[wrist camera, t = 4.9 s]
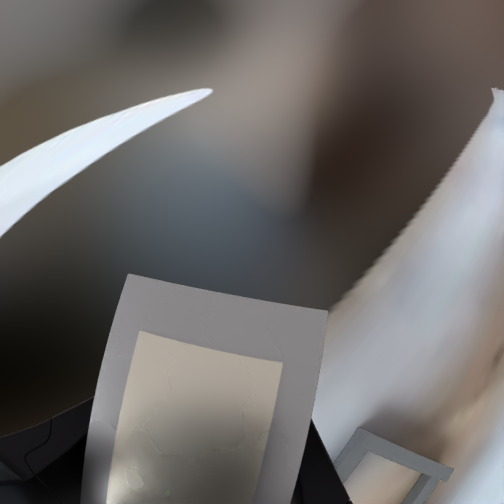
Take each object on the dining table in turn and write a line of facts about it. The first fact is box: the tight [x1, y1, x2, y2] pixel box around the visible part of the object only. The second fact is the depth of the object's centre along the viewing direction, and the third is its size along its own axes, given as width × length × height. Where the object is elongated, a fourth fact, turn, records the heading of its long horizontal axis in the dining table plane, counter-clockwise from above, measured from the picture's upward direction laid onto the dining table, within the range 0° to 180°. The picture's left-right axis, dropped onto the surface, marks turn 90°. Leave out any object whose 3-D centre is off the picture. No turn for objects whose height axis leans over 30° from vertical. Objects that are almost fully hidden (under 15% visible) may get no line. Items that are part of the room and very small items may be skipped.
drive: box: [80, 274, 328, 504], centre depth 9 cm, size 8×4×10 cm, turn 169°
